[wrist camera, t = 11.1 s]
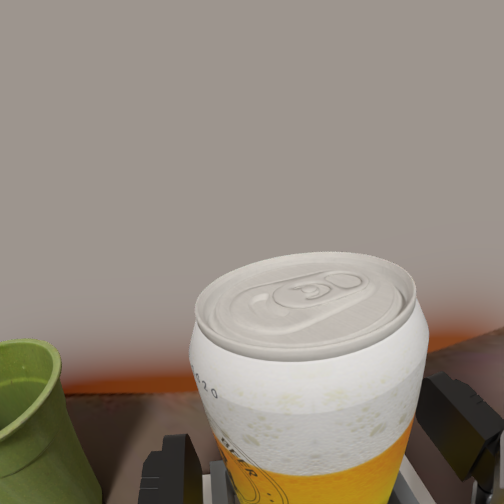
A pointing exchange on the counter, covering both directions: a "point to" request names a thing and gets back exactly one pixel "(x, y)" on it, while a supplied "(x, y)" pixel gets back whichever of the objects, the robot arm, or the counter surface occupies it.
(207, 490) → the dock
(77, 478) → the plant pot
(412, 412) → the beer can
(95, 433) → the counter surface
